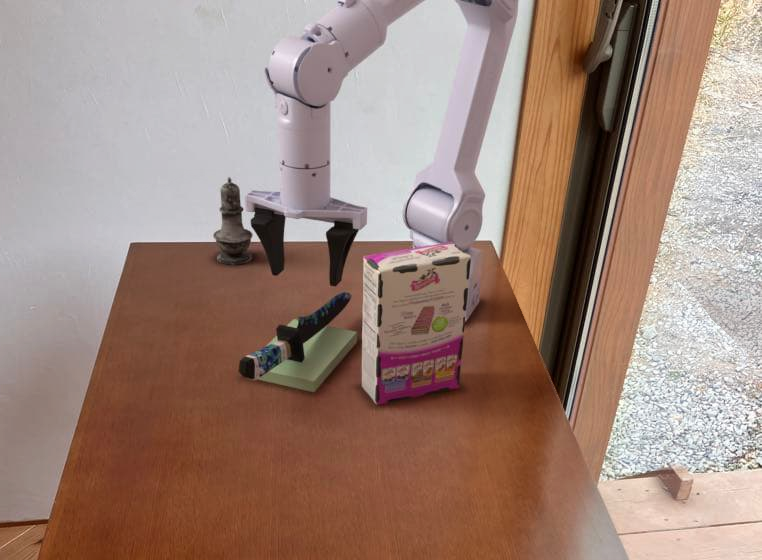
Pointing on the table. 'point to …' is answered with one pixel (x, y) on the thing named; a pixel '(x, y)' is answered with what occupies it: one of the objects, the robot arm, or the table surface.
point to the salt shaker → (232, 228)
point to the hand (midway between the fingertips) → (306, 277)
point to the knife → (291, 340)
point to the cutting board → (313, 359)
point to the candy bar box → (413, 321)
